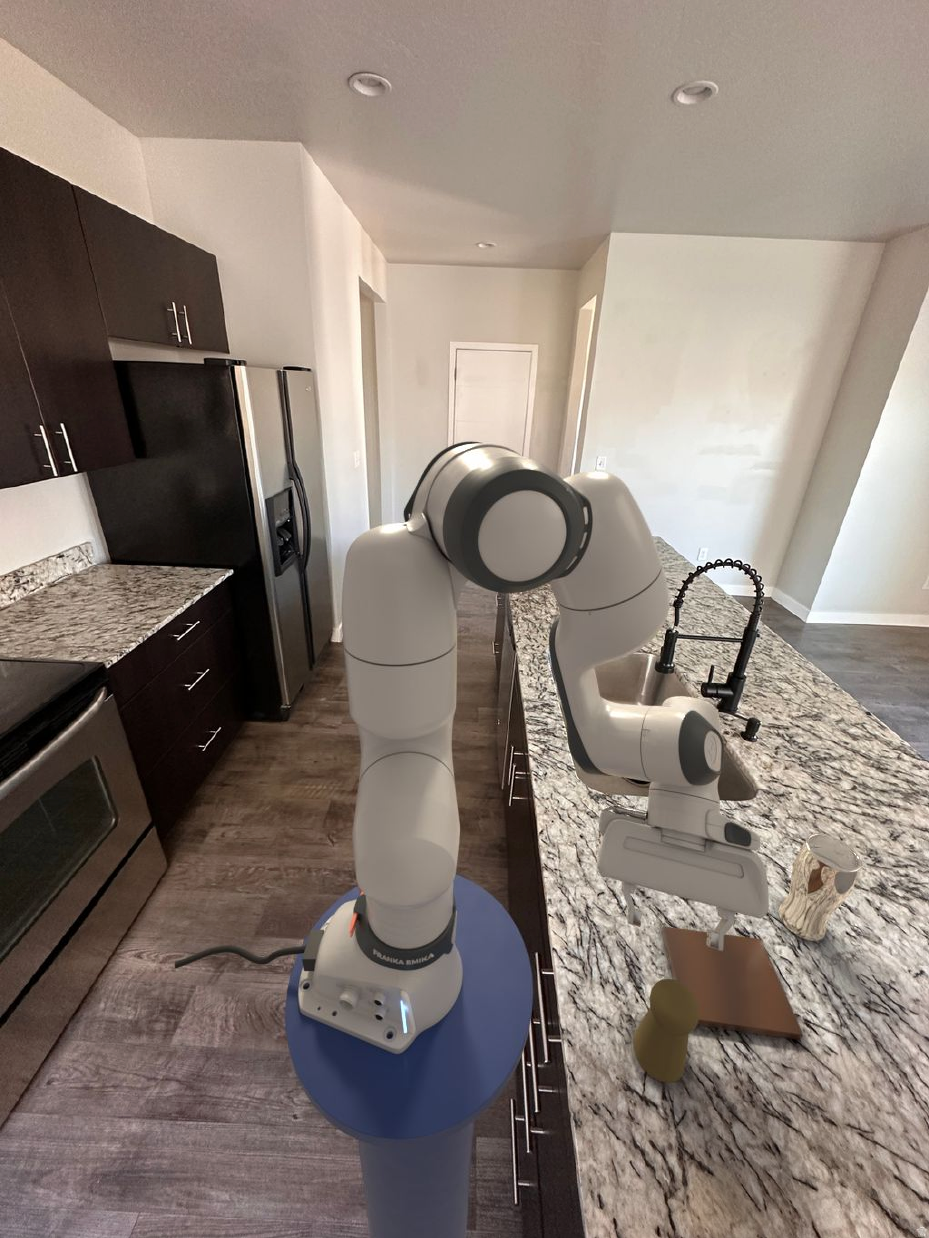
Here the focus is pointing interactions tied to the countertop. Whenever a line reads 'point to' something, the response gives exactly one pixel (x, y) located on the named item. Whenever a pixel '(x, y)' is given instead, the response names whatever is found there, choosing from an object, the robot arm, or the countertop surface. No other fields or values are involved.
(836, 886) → the beer glass
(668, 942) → the cutting board
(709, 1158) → the countertop surface
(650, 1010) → the pepper mill
